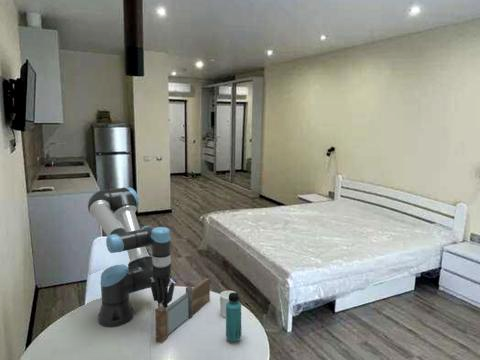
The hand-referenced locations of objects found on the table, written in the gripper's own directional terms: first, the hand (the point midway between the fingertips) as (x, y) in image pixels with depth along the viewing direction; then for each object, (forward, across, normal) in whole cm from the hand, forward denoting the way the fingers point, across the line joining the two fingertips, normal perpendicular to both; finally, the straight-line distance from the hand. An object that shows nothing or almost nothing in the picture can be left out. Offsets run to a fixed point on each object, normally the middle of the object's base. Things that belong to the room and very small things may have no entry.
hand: (163, 316), depth 147 cm
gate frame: (+6, +5, +10) cm, 13 cm away
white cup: (+6, +21, +21) cm, 31 cm away
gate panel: (+5, +5, +3) cm, 7 cm away
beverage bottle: (+6, +31, +4) cm, 32 cm away
